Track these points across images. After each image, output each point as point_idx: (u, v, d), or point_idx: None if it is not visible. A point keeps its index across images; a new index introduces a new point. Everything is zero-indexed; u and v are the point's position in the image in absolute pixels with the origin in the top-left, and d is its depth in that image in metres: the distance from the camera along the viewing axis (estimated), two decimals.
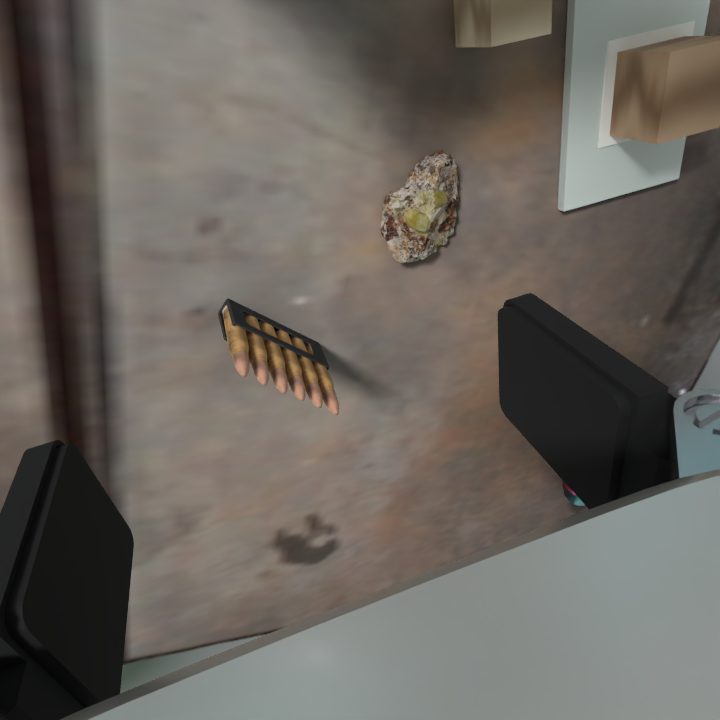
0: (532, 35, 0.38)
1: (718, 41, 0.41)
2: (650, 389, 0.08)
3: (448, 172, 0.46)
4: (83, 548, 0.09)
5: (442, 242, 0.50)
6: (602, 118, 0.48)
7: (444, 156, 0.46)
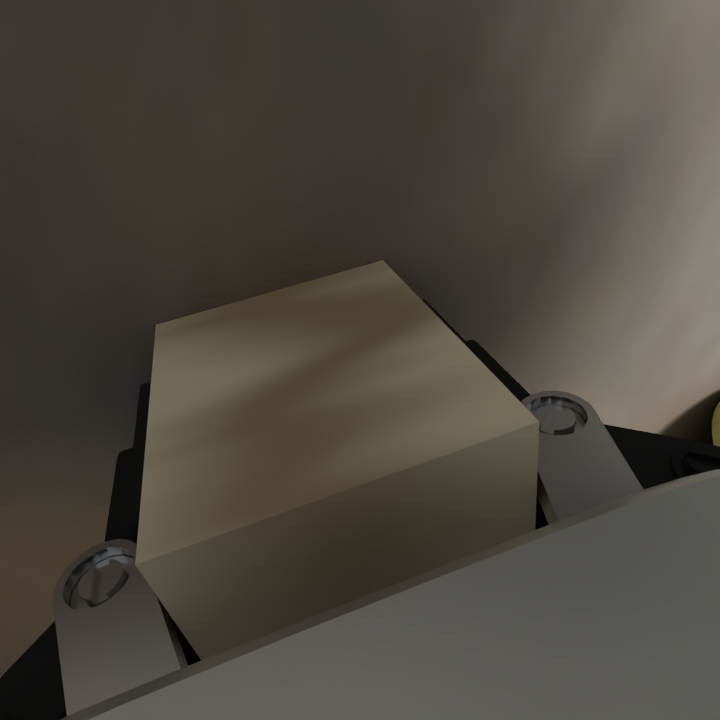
0: None
1: None
2: None
3: None
4: None
5: None
6: None
7: None
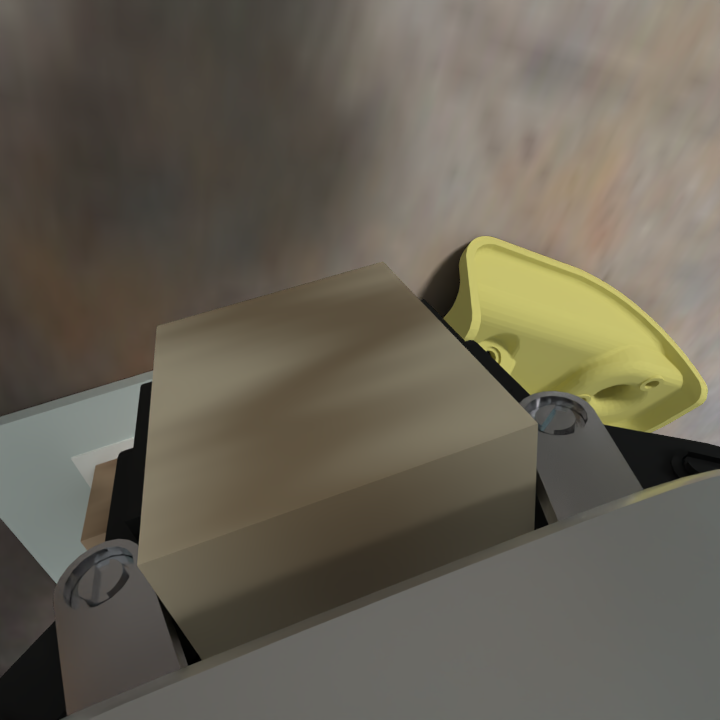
0: None
1: None
2: None
3: None
4: None
5: None
6: (116, 444, 0.31)
7: None
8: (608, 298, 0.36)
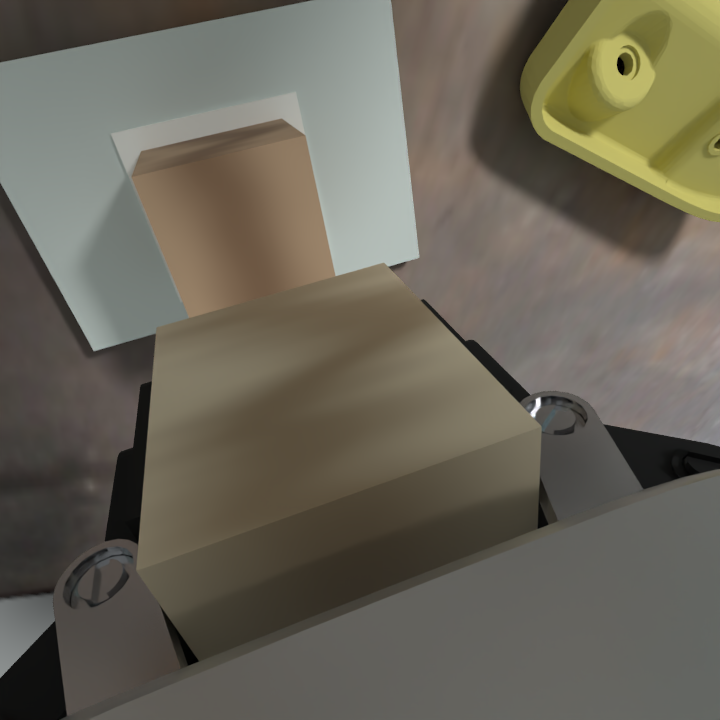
0: None
1: (326, 242, 0.23)
2: None
3: None
4: None
5: None
6: (168, 122, 0.24)
7: None
8: None
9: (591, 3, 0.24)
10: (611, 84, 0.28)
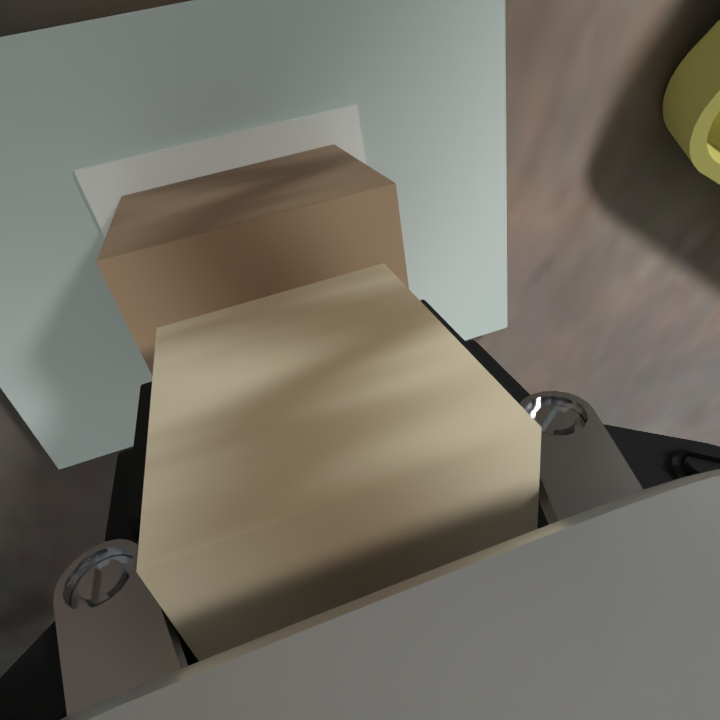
0: None
1: None
2: None
3: None
4: None
5: None
6: (163, 152, 0.16)
7: None
8: None
9: None
10: None
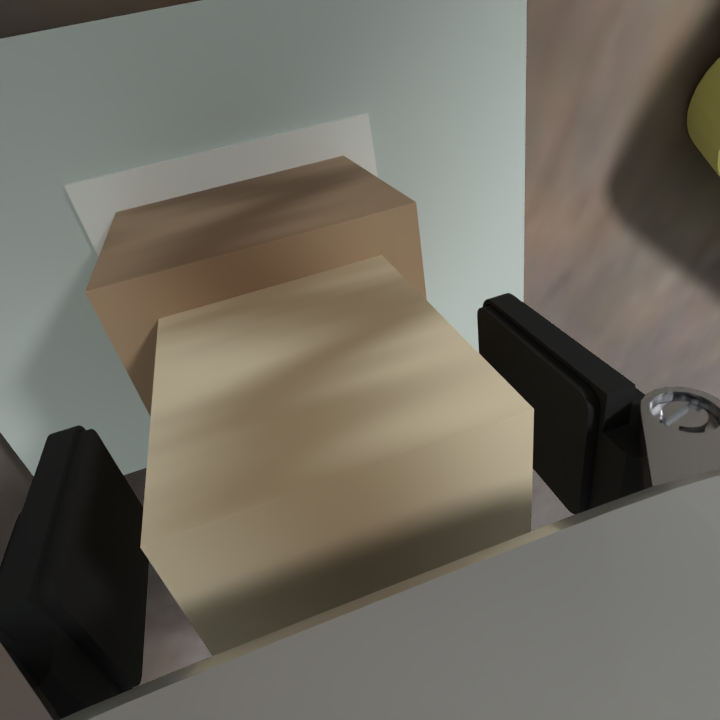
0: None
1: None
2: (618, 386, 0.08)
3: None
4: (106, 529, 0.09)
5: None
6: (161, 165, 0.15)
7: None
8: None
9: None
10: None
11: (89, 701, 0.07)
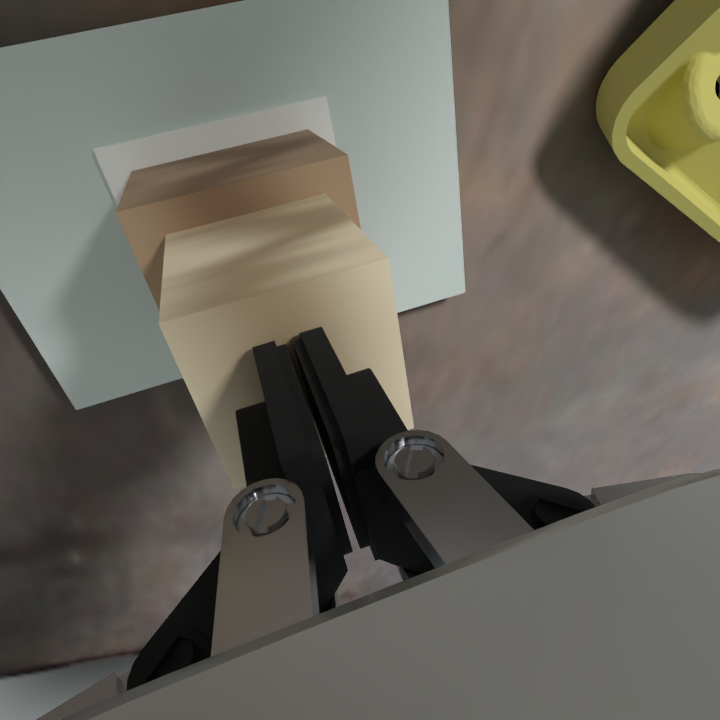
0: (220, 442, 0.12)
1: None
2: (359, 430, 0.08)
3: None
4: None
5: None
6: (166, 134, 0.19)
7: None
8: None
9: None
10: (708, 107, 0.23)
11: (341, 546, 0.09)
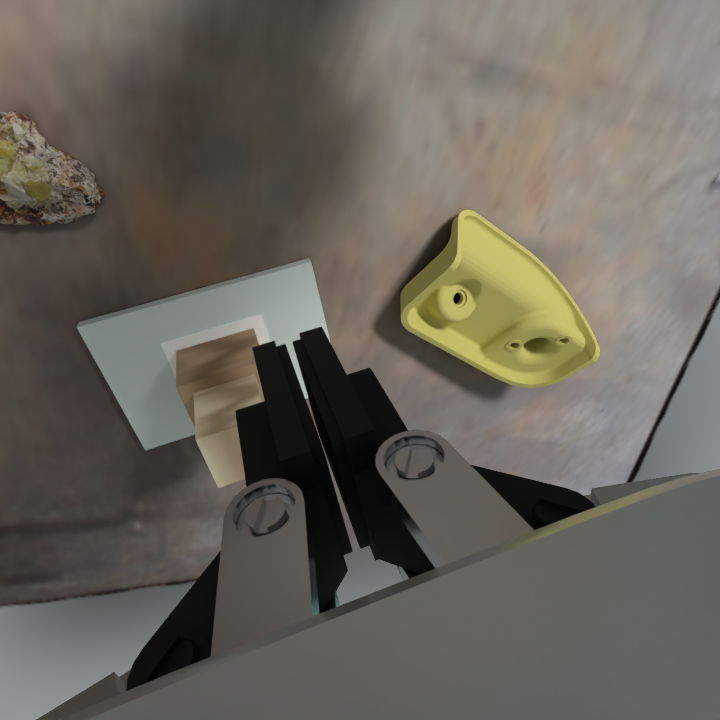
0: (213, 472, 0.38)
1: None
2: (359, 431, 0.08)
3: (77, 202, 0.37)
4: None
5: None
6: (191, 336, 0.45)
7: (97, 197, 0.37)
8: (545, 276, 0.52)
9: (432, 278, 0.45)
10: (448, 309, 0.49)
11: (340, 547, 0.09)
